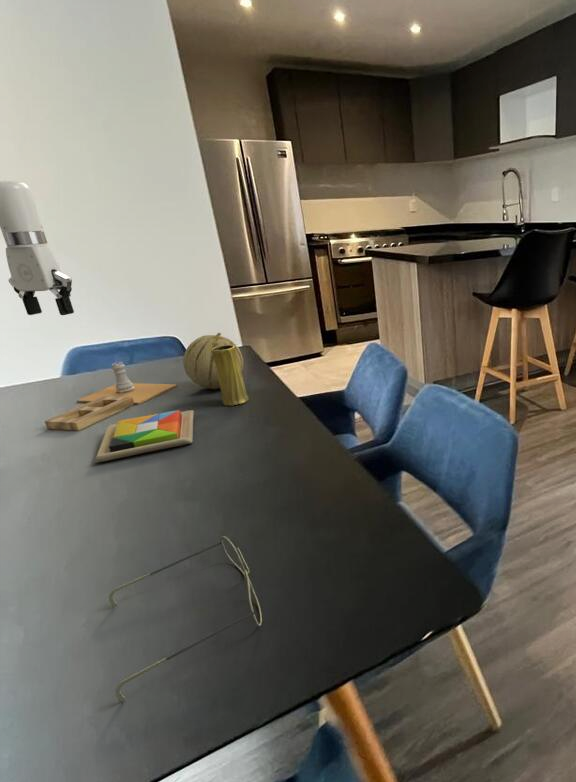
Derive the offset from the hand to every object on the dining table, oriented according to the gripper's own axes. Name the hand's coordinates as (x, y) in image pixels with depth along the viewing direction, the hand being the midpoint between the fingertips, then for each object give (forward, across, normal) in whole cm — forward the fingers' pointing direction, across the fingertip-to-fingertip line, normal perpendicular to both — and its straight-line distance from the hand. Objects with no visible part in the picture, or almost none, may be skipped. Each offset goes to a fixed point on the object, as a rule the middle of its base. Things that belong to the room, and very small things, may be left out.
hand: (51, 314), depth 120 cm
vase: (+24, +42, +6) cm, 48 cm away
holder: (+24, +10, -6) cm, 27 cm away
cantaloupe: (+24, +30, +16) cm, 41 cm away
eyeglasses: (+24, +80, -60) cm, 103 cm away
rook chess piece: (+24, +4, +10) cm, 26 cm away
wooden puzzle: (+24, +36, -16) cm, 46 cm away
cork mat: (+24, +6, +9) cm, 26 cm away
